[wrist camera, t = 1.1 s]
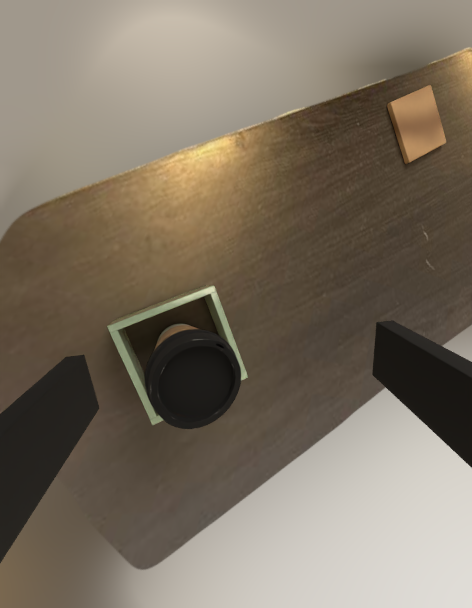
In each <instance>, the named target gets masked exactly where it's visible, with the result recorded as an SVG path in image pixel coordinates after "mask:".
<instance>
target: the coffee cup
mask: <svg viewBox="0 0 472 608" xmlns="http://www.w3.org/2000/svg"><path fill="white" fill-rule="evenodd" d="M240 384H241V368H240V365H239V362H238V360H237V357H236V354H235V352H234V350H233V349H232V347H231V346H230V345H229V343H228V342H227V341H226V340H225V339H223V338H222V337H220V336H219V335H217V334H215V333H213V332H210V331H207V330H201V329H198V328H195V327H192V326H190V325H187V324H173V325H171V326H169V327H167V328H166V329H165V330H164V331H163V332H162V333H161V334H160V336H159V338H158V341H157V344H156V347H155V349H154V352H153V353H152V355H151V356H150V359H149V361H148V363H147V367H146V371H145V387H146V392H147V396H148V399H149V401H150V403H151V405H152V406H153V408H154V409H155V410H156V412H157V413H158V415H159V416H160V417H161V418H162V419H163V420H164V421H165V422H167V423H168V424H170V425H172V426H174V427H178V428H182V429H193V428H200V427H203V426H205V425H208V424H210V423H212V422H213V421H215V420H217V419H218V418H219V417H220V416H222V415H223V414H224V413H225V412H226V411H227V409H228V408H229V407H230V406H231V404H232V403H233V401H234V400H235V398H236V396H237V393H238V391H239V387H240Z"/></svg>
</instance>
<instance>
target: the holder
mask: <svg viewBox="0 0 472 608" xmlns="http://www.w3.org/2000/svg"><path fill="white" fill-rule="evenodd" d="M203 296H204V297H205V300H206V303H207V305H208V308H209V311H210V313H211V316H212V318H213V321H214V324H215V326H216V329H217V332H218V334H219V336H220V337H222V338H223V339H225V340H226V341H227V342H228V343H229V345H230V346H231V347H232V349H233V350H234V352H235V354H236V357H237V360H238V362H239V365H240V368H241V380H243V379H245V378H247V377H248V375H247V373H246V370H245V367H244V365H243V362H242V359H241V357H240V354H239V351H238V349H237V346H236V343H235V340H234V338H233V335H232V332H231V330H230V327H229V324H228V322H227V319H226V316H225V313H224V311H223V308H222V305H221V303H220V300H219V297H218V295H217V292H216V289H215V286H214V285H205V286H202V287H200V288H197V289H194V290H192V291H189V292H186V293H184V294H181V295H179V296H176V297H173V298H171V299H168V300H166V301H163V302H160V303H158V304H155V305H152V306H150V307H147V308H145V309H142V310H139V311H137V312H134V313H131V314H129V315H126V316H124V317H121V318H118V319H116V320H114V321H113V322H111V323H110V324H109V325H108V326H107V328H108V330H109V332H110V334H111V336H112V339H113V341H114V343H115V345H116V347H117V349H118V352H119V354H120V356H121V358H122V360H123V362H124V364H125V367H126V369H127V371H128V373H129V375H130V377H131V380H132V382H133V384H134V386H135V388H136V390H137V392H138V395H139V397H140V399H141V401H142V403H143V405H144V408H145V410H146V412H147V414H148V416H149V418H150V421H151V423H152V425H154V424H156V423H158V422H160V421H162V420H163V419H162V418H161V417H160V416H159V415H158V413H157V412H156V410H155V409H154V408H153V406H152V405H151V403H150V401H149V399H148V396H147V392H146V387H145V373H144V371H143V369H142V366H141V364H140V362H139V360H138V358H137V355H136V353H135V351H134V349H133V346H132V344H131V342H130V340H129V338H128V335H127V333H126V331H125V329H124V327H127V326H130V325H132V324H135V323H137V322H140V321H142V320H145V319H147V318H150V317H152V316H155V315H158V314H160V313H163V312H165V311H168V310H170V309H173V308H175V307H178V306H180V305H183V304H186V303H188V302H191V301H193V300H196V299H198V298H201V297H203Z"/></svg>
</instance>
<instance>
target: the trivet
mask: <svg viewBox="0 0 472 608" xmlns="http://www.w3.org/2000/svg"><path fill="white" fill-rule="evenodd" d="M387 108H388V111H389V114H390V118H391V121H392V124H393V127H394V130H395V133H396V136H397V140H398V143H399V146H400V149H401V152H402V155H403V159H404V162H405V164H407V163H409V162H411V161H413V160H415V159H417V158H419V157H421V156H422V155H424V154H426V153H428V152H430V151H432V150H433V149H435V148H437V147H439V146H441V145H443V144H445V143H446V138H445V135H444V131H443V128H442V124H441V120H440V117H439V113H438V110H437V106H436V102H435V99H434V95H433V92H432V88H431V85H429V86H426V87H424V88H422V89H420V90H417V91H415V92H413V93H411V94H409V95H406V96H404V97H402V98H400V99H397V100H395V101H393V102H391V103H389V104H388V105H387Z"/></svg>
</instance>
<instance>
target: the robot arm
mask: <svg viewBox="0 0 472 608" xmlns="http://www.w3.org/2000/svg"><path fill="white" fill-rule="evenodd" d="M372 375H373V376H374V377H375V378H376V379H377V380H379V381H380V382H381V383H382V384H383V385H384V386H385V387H386V388H387V389H388V390H389V391H390V392H391V393H393V394H394V395H395V396H396V397H397V398H398V399H399V400H400V401H401V402H402V403H403V404H404V405H405V406H406V407H408V408H409V409H410V410H411V411H412V412H413V413H414V414H415V415H416V416H417V417H418V418H419V419H420V420H421V421H422V422H424V423H425V424H426V425H427V426H428V427H429V428H430V429H431V430H432V431H433V432H434V433H435V434H436V435H437V436H439V437H440V438H441V439H442V440H443V441H444V442H445V443H446V444H447V445H448V446H449V447H450V448H451V449H452V450H453V451H455V452H456V453H457V454H458V455H459V456H460V457H461V458H462V459H463V460H464V461H465V462H466V463H468V465H469V466H471V467H472V362H471V361H469V360H467V359H465V358H463V357H461V356H459V355H457V354H455V353H454V352H452V351H450V350H448V349H446V348H444V347H442V346H440V345H438V344H436V343H434V342H433V341H431V340H429V339H427V338H425V337H423V336H421V335H419V334H417V333H415V332H413V331H412V330H410V329H408V328H406V327H404V326H402V325H400V324H398V323H396V322H394V321H384V322H377V323H376V336H375V349H374V362H373V374H372ZM98 409H99V405H98V402H97V398H96V395H95V391H94V388H93V384H92V381H91V377H90V374H89V370H88V366H87V363H86V359H85V356H84V355H79V356H70V357H65V358H64V359H63V360H62V361H61V362H60V363H58V364H57V365H56V366H55V367H54V368H53V369H52V370H50V371H49V372H48V373H47V374H46V375H45V376H44V377H42V378H41V379H40V380H39V381H38V382H37V383H36V384H34V385H33V386H32V387H31V388H30V389H29V390H27V391H26V392H25V393H24V394H23V395H22V396H21V397H19V398H18V399H17V400H16V401H15V402H14V403H13V404H11V405H10V406H9V407H8V408H7V409H6V410H5V411H3V412H2V413H1V414H0V563H1V561H2V560H3V558H4V557H5V555H6V553H7V552H8V550H9V549H10V547H11V546H12V544H13V542H14V541H15V539H16V538H17V536H18V535H19V533H20V532H21V530H22V528H23V527H24V525H25V524H26V522H27V521H28V519H29V517H30V516H31V514H32V513H33V511H34V510H35V508H36V506H37V505H38V503H39V502H40V500H41V499H42V497H43V495H44V494H45V492H46V491H47V489H48V488H49V486H50V484H51V483H52V481H53V480H54V478H55V477H56V475H57V474H58V472H59V470H60V469H61V467H62V466H63V464H64V463H65V461H66V460H67V458H68V456H69V455H70V453H71V452H72V450H73V449H74V447H75V445H76V444H77V442H78V441H79V439H80V438H81V436H82V434H83V433H84V431H85V430H86V428H87V427H88V425H89V424H90V422H91V420H92V419H93V417H94V416H95V414H96V413H97V411H98Z"/></svg>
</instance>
